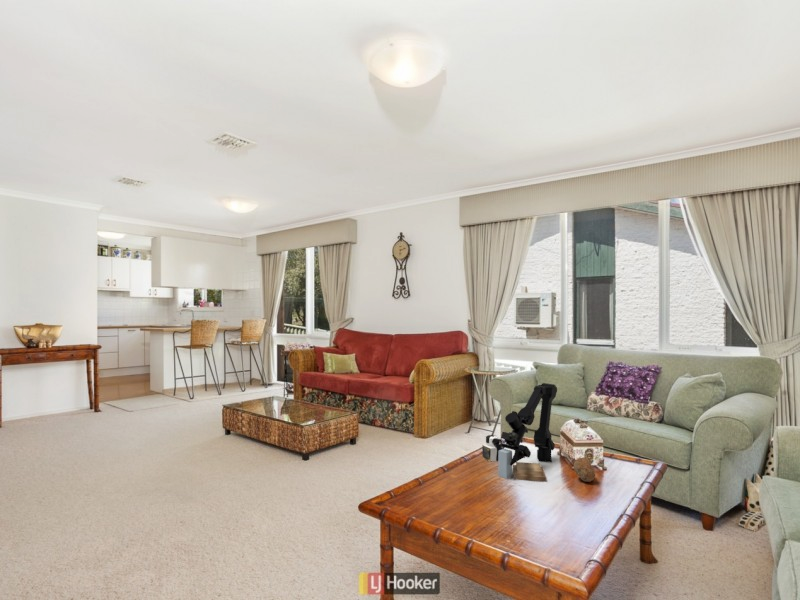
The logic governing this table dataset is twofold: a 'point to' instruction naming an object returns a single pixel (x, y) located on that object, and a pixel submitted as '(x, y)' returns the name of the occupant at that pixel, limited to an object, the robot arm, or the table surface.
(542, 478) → the plinth
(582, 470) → the brown rock
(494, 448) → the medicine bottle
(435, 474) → the table surface
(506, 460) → the block
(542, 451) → the robot arm
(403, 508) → the table surface
